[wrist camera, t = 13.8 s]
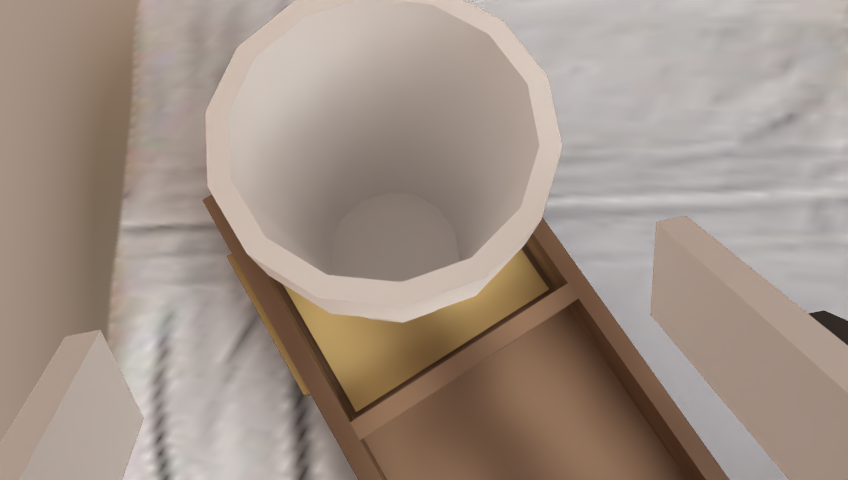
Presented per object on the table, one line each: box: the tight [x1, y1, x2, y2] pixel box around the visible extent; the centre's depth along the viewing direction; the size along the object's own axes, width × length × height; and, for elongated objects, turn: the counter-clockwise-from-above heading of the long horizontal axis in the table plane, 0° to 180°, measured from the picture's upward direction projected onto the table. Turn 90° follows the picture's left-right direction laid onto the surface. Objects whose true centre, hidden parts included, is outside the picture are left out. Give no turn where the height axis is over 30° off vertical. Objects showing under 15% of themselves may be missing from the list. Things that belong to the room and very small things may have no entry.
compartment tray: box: [203, 195, 729, 480], centre depth 27 cm, size 13×24×3 cm, turn 32°
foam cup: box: [205, 0, 562, 323], centre depth 22 cm, size 10×9×13 cm
